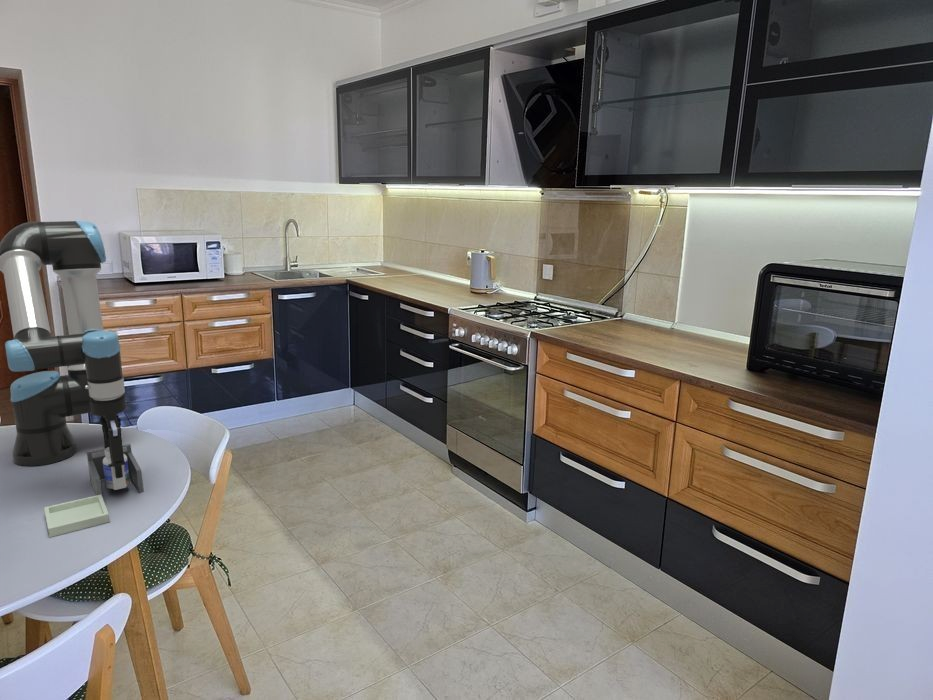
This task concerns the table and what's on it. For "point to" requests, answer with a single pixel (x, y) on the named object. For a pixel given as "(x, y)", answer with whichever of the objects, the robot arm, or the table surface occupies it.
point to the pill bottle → (108, 469)
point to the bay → (98, 473)
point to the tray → (76, 515)
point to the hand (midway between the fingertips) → (117, 483)
